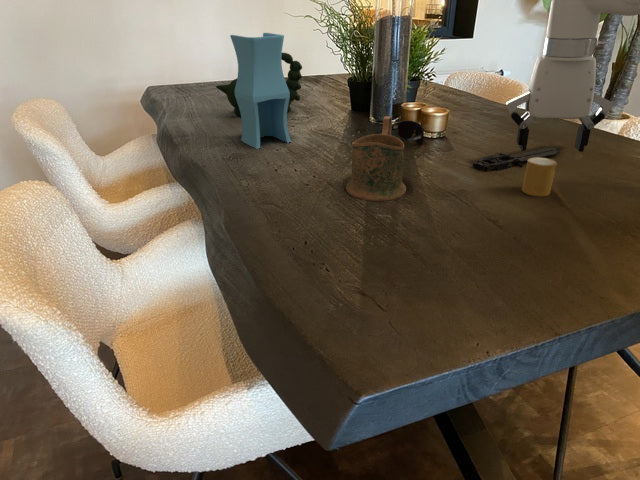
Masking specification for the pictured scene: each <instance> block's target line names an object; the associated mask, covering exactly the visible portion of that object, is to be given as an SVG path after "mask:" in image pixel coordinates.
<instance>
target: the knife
mask: <svg viewBox="0 0 640 480" xmlns="http://www.w3.org/2000/svg"><path fill="white" fill-rule="evenodd" d="M559 150H560V148H557V147H556V148H555V147H554V148H553V147H552V148H551V147H550V148H549V147H547V148H542V149H538V150H532V151H528V152H523V153H518V154H514V155H513V154H512V155H511V154H510V153H506V152H499V155H488V156H485V157H484V156H483V157H481V158H480V159H478V160H474V161H473V162H472V167H474V169H476V170H484V172H489V171H501V170H502V171H503V170H506V169H509V168H511V167H513V166H518V167H520V168H523V166H524V165H523V164H524V162H526V161H528V159H529V158H534V157H541V158H545V157H548V156H553V155H556V154H558V151H559Z"/></svg>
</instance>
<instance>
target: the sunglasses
mask: <svg viewBox="0 0 640 480" xmlns="http://www.w3.org/2000/svg"><path fill="white" fill-rule="evenodd" d="M395 130H397V134H398V136H399V137H400V138H401V139H400V140H401V141H402V142H403V143H404V142H408V143H412V142H415V141H416V145H417V146H423V143H424V139H425V129H424V126H423V125H422V124H421V123H419V122H417V121H414V120H409V119H408V120H401V121H400V122H399V123H396V124H394V125H392V127H391V132H392V131H395ZM381 133H382V129H381V130H377V131H376V132H374V133H373V134H381ZM414 134H415V135H414ZM413 135H414V136H413Z"/></svg>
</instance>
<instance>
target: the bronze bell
mask: <svg viewBox="0 0 640 480" xmlns="http://www.w3.org/2000/svg"><path fill="white" fill-rule="evenodd" d="M392 126H393V118H392V116H391V115H385V116H384V117H383V118H382V129H381V130H382V132H381V133H377V134H374V133H372V134H368V135H364V136H362V137H359V138H358V139H356V140H354V141H353V142H352V144H351V145H352V147H351V149H352V151H351V177H350V181H348V182H347V184H346V188H345V189H346V190H345V191H346V192H347V193H348V194H349V195H351V196H352V197H354V198H357V199H360V200H363V201H364V200H365V201H368V202H369V201H370V202H386V201H393V200H396V199H399V198H401V197H403V196H404V195H406V193H407V187H406V184H404V182H403V167H404V160H405V159H404V157H405V143H404V142H402V141H401V140H402V139H400V138H399V137H397V136H394V135H392V131H391V127H392Z"/></svg>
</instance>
